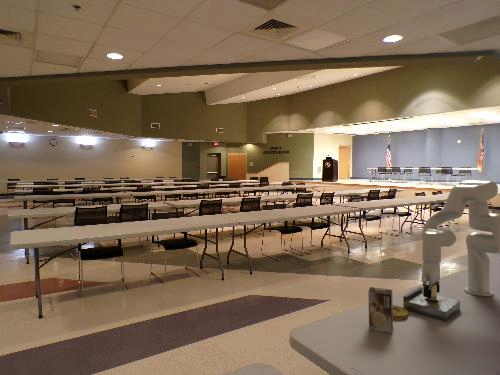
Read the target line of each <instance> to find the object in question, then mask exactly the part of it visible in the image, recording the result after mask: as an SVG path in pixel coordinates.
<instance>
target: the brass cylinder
mask: <svg viewBox="0 0 500 375" xmlns="http://www.w3.org/2000/svg"><path fill="white" fill-rule="evenodd" d="M428 286H429V284H428ZM430 289H431V298H427V302H431V303H437V295H438V293H437V285H436V284H432V285H431V288H430Z"/></svg>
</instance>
